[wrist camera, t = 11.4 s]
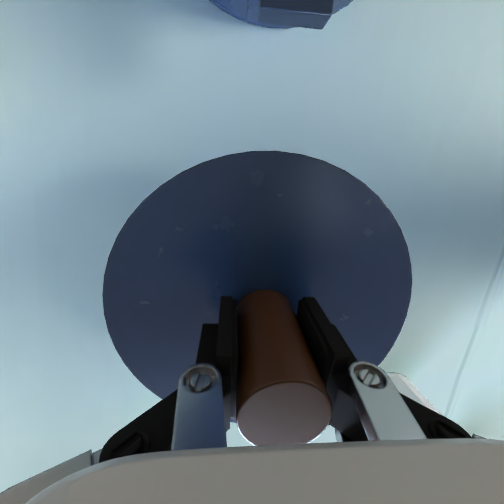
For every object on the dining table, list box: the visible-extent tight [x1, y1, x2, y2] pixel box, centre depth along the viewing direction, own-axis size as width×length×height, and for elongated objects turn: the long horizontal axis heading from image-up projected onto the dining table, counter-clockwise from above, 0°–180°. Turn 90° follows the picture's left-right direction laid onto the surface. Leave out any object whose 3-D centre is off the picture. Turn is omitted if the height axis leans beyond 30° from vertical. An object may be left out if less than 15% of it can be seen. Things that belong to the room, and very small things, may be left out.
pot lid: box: [103, 151, 412, 446], centre depth 11 cm, size 16×16×7 cm
